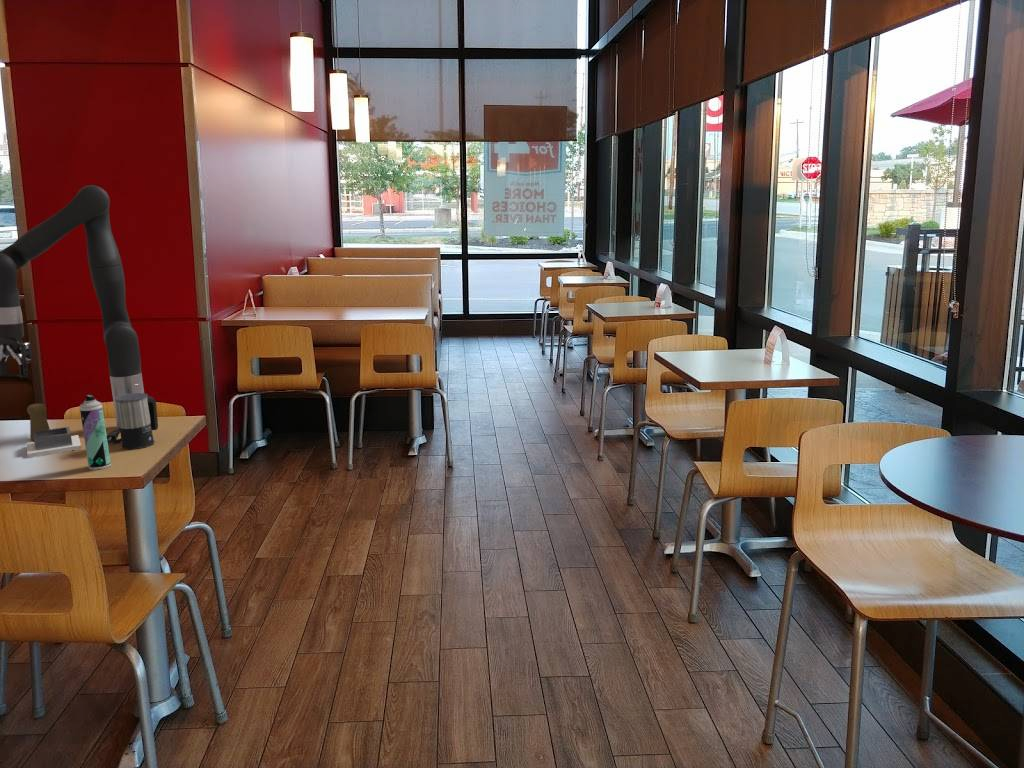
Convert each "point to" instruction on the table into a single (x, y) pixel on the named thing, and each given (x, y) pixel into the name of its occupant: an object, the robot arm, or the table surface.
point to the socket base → (32, 451)
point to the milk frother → (135, 421)
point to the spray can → (94, 434)
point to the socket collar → (52, 438)
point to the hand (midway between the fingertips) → (13, 375)
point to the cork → (37, 418)
